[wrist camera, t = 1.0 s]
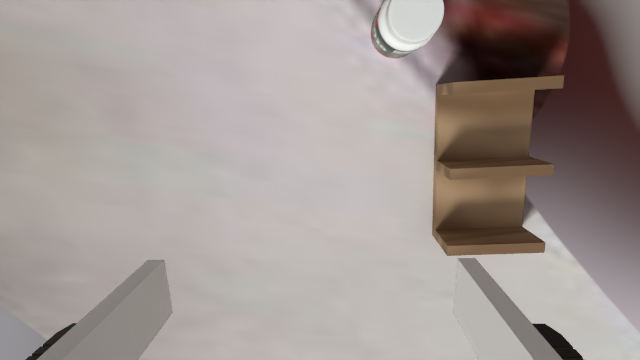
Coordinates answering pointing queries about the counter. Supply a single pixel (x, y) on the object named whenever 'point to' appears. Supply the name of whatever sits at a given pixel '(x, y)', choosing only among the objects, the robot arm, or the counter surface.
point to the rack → (485, 165)
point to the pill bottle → (405, 26)
